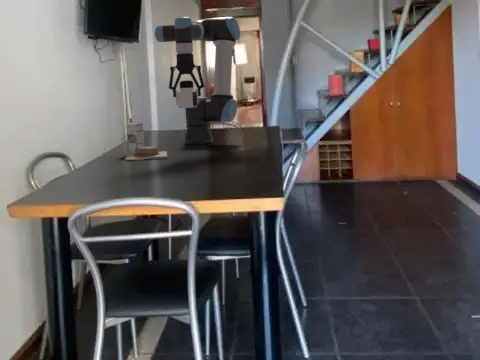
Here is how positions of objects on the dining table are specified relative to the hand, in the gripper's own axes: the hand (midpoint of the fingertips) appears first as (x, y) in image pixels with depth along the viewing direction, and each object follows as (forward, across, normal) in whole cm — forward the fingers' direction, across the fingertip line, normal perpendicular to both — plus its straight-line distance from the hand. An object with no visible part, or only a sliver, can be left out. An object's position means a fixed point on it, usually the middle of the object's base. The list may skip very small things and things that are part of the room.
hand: (187, 104), depth 278 cm
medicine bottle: (+2, 0, 0) cm, 2 cm away
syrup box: (+23, -24, +12) cm, 35 cm away
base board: (+23, -20, -2) cm, 30 cm away
